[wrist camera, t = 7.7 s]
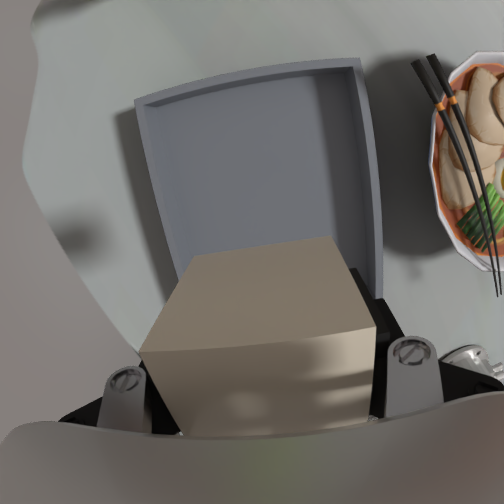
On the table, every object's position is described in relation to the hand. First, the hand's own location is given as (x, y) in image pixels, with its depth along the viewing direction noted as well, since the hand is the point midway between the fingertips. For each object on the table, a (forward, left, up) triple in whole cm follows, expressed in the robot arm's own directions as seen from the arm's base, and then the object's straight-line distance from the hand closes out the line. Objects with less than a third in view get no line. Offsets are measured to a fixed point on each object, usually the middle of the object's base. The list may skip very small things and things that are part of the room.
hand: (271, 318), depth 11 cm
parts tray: (0, 0, -21) cm, 21 cm away
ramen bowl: (-25, -2, -21) cm, 33 cm away
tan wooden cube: (0, 0, -1) cm, 1 cm away
